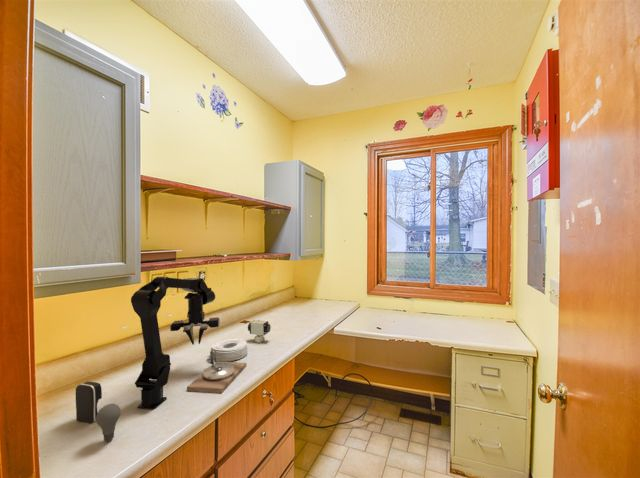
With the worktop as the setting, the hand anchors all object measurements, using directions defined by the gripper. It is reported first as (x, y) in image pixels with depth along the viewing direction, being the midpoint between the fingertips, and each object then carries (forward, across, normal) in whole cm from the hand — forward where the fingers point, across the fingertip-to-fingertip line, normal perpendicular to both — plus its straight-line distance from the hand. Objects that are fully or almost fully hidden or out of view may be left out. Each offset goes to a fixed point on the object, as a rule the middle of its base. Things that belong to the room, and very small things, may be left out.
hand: (196, 344), depth 121 cm
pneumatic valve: (+12, -27, -29) cm, 42 cm away
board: (+12, -10, +8) cm, 17 cm away
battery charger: (+12, +28, +25) cm, 39 cm away
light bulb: (+12, +17, +38) cm, 43 cm away
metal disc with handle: (+10, -9, +6) cm, 15 cm away
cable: (+12, -12, -15) cm, 23 cm away
